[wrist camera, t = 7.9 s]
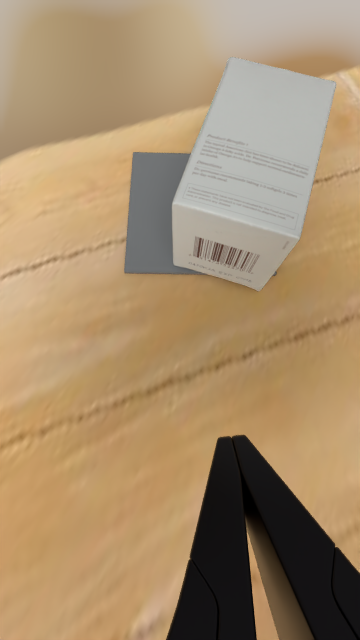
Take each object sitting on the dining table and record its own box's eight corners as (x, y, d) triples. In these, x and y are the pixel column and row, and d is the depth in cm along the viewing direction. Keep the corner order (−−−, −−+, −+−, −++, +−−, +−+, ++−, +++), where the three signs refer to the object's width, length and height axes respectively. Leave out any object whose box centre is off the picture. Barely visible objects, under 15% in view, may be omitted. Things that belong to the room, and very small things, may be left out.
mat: (275, 275, 22) (276, 273, 21) (125, 273, 22) (124, 271, 21) (263, 158, 25) (264, 155, 25) (133, 155, 25) (133, 152, 25)
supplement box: (260, 294, 21) (294, 170, 24) (302, 239, 14) (341, 76, 17) (170, 266, 22) (215, 150, 25) (165, 200, 14) (229, 50, 18)
